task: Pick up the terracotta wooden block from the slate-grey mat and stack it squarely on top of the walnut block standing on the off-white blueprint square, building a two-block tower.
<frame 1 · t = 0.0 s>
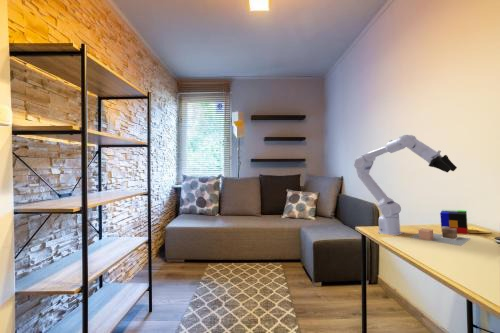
hand: (452, 170, 117), 32 cm above the table, tool tilted 50°, fingers open, 7 cm apart
terracotta block: (426, 238, 126), resting on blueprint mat
puzzle toy: (454, 231, 135), on the table
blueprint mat: (439, 238, 125), on the table
walnut block: (449, 237, 125), resting on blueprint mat
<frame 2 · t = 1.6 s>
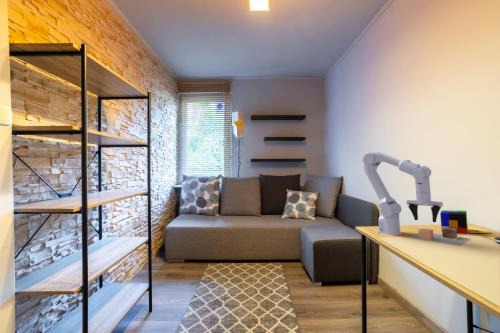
hand: (425, 220, 126), 9 cm above the table, tool pointing down, fingers open, 7 cm apart
nothing on the table moved.
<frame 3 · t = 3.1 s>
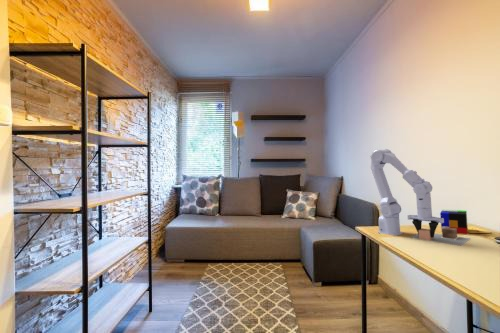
hand: (426, 236, 126), 1 cm above the table, tool pointing down, fingers closed on terracotta block, 4 cm apart
terracotta block: (426, 238, 126), resting on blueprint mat, touching gripper
everything else where it was.
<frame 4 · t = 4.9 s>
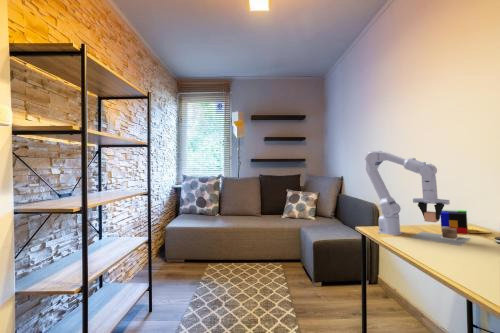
hand: (431, 218, 126), 9 cm above the table, tool pointing down, fingers closed on terracotta block, 4 cm apart
terracotta block: (431, 221, 126), point 8 cm above the table, touching gripper
everything else where it was.
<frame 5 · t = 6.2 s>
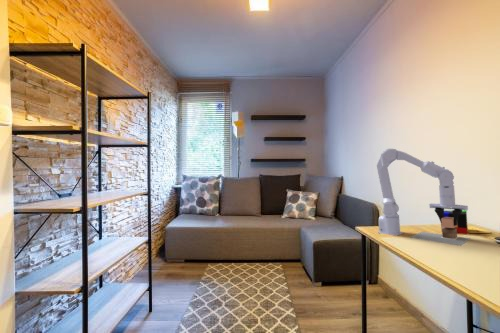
hand: (449, 224, 125), 6 cm above the table, tool pointing down, fingers closed on terracotta block, 4 cm apart
terracotta block: (449, 226, 125), point 5 cm above the table, touching gripper
everything else where it was.
when the fingers open (6 cm above the table, at t = 6.9 s): terracotta block drops 1 cm, resting on walnut block.
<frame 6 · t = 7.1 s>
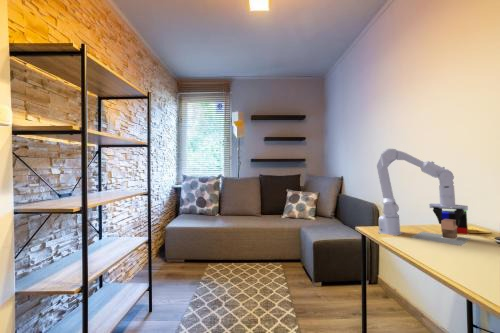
hand: (449, 224, 125), 6 cm above the table, tool pointing down, fingers open, 6 cm apart
terracotta block: (449, 228, 125), point 4 cm above the table, touching walnut block
walnut block: (449, 237, 125), resting on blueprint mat, touching terracotta block
everything else where it was.
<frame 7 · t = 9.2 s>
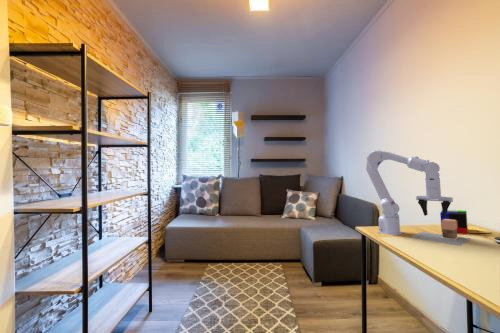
hand: (434, 216, 127), 10 cm above the table, tool pointing down, fingers open, 7 cm apart
nothing on the table moved.
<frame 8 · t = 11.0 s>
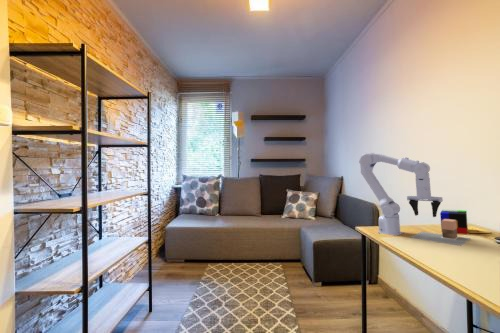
hand: (425, 215, 129), 10 cm above the table, tool pointing down, fingers open, 7 cm apart
nothing on the table moved.
at the end: terracotta block 0.1 cm off-centre on the walnut block, point 4.0 cm above the walnut block's base; terracotta block tilted 0°; walnut block 0.0 cm from the target spot, resting on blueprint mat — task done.
